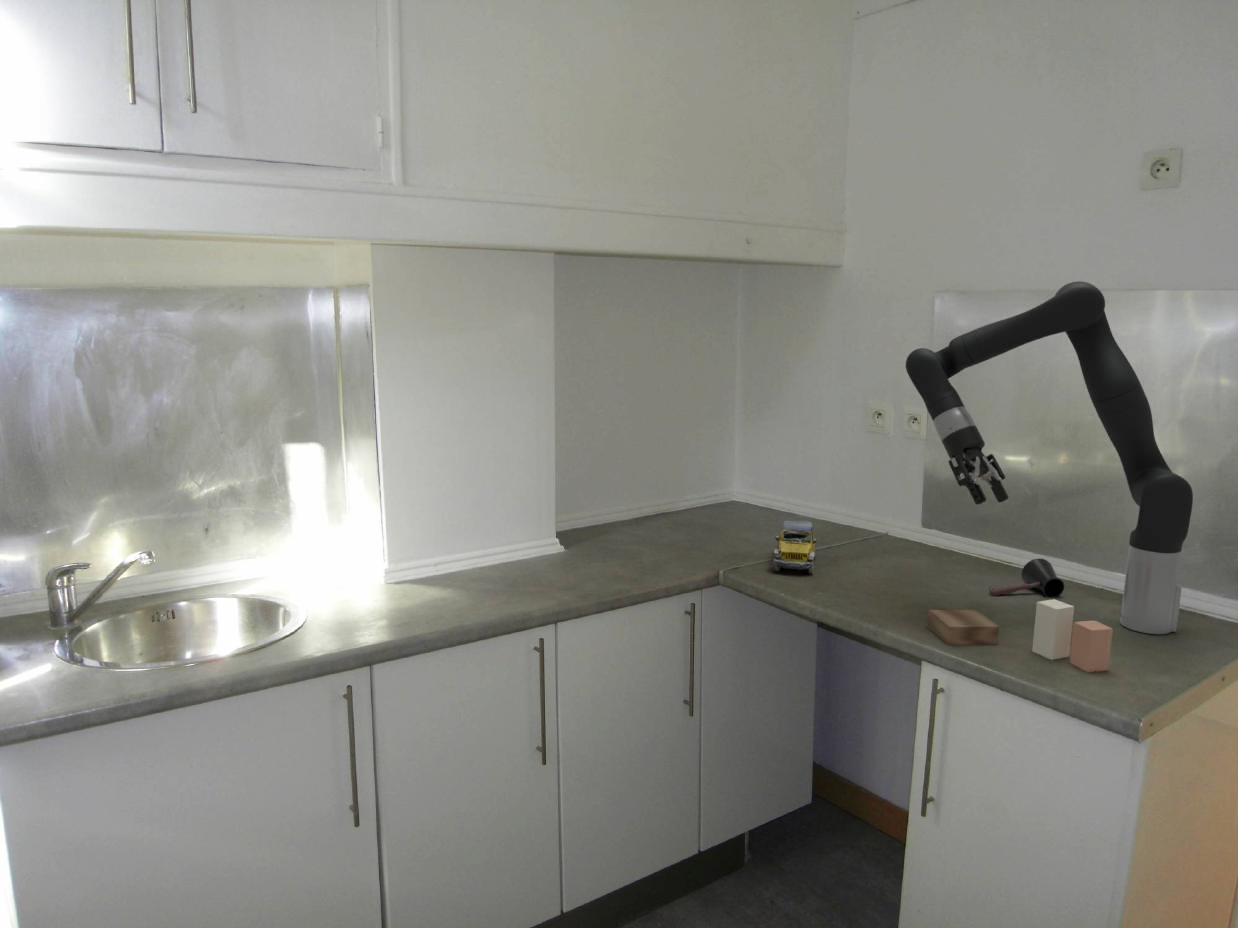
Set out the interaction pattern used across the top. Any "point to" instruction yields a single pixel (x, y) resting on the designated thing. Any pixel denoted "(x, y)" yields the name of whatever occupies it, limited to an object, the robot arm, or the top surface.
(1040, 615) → the cream pillar
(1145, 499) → the robot arm
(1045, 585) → the coffee pot
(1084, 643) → the terracotta pillar
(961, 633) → the walnut base block
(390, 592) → the top surface
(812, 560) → the toy car
